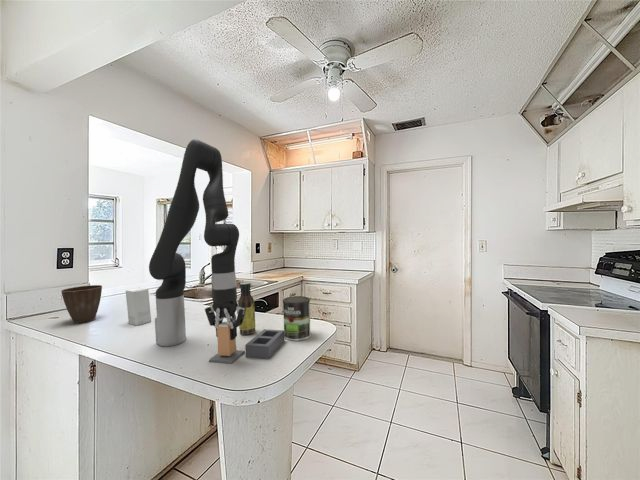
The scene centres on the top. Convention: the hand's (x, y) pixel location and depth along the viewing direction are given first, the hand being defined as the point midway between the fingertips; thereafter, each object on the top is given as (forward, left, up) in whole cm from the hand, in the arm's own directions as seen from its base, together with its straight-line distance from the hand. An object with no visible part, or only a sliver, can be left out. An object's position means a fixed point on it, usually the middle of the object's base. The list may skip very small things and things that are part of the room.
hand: (226, 338), depth 90 cm
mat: (0, 0, -6) cm, 6 cm away
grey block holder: (+10, +8, -6) cm, 14 cm away
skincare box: (-61, +25, -6) cm, 66 cm away
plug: (0, 0, -5) cm, 5 cm away
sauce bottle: (-4, +21, -6) cm, 22 cm away
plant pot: (-91, +23, -6) cm, 94 cm away
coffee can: (+17, +21, -6) cm, 28 cm away
